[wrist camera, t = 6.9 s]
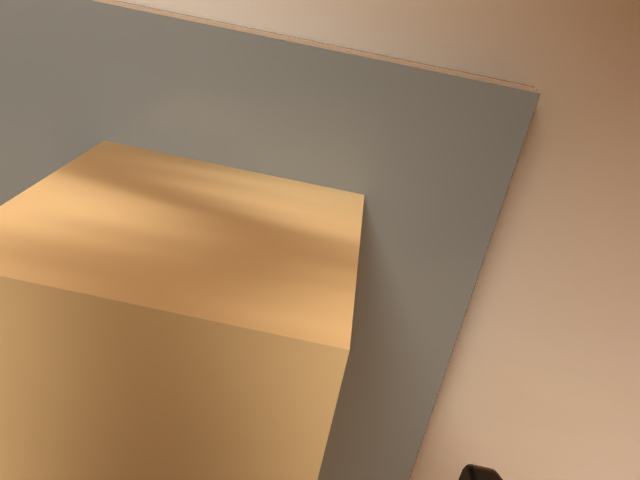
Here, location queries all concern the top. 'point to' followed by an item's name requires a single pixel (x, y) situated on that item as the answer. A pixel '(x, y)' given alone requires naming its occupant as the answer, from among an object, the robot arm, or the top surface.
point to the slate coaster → (292, 169)
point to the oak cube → (172, 320)
